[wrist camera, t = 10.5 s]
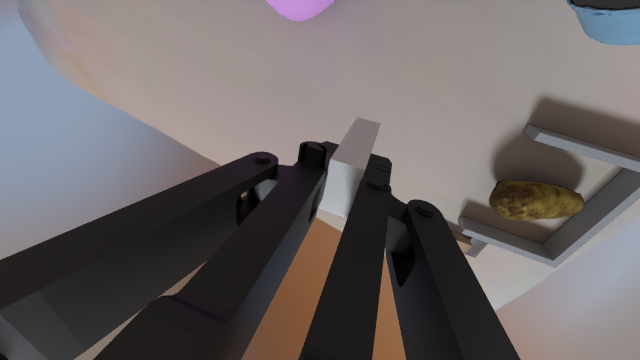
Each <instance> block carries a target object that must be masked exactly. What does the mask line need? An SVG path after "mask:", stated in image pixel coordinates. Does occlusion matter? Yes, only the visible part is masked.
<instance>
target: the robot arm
mask: <svg viewBox="0 0 640 360" xmlns="http://www.w3.org/2000/svg"><path fill="white" fill-rule="evenodd" d="M567 3H568V5H569V6H570V7H571V8H572V9H573V10H574V11H575V12H576V14H577V17H578V19H579V21H580V23H581V26H582V28H583V30H584V32H585V34H586V35H587V36H588V37H590V38H592V39H595V40H596V41H599V42H601V43H604V44H609V45H640V0H567ZM379 127H380V123H377V122H373V121H369V120H366V119H362V118H358V117H357V119H356V120H355V122H354V124H353V125H352V127H351V128H350V130H349V131H348V133H347V134H346V136H345V137H344V139H343V140H342V142H341V143H340V145H338V144H335V143H331V142H328V141H326V142H323V143H318V142H312V141H307V142H303V143H301V144H300V148H299V155H298V161H297V162H296V163H295V164H294V166H286V165H278V158H277V157H276V156H275V155H273V154H271V153H268V152H255V153H251V154H249V155H247V156H244V157H242V158H240V159H237V160H235V161H232V162H230V163H228V164H225V165H223V166H221V167H218V168H216V169H214V170H211V171H209V172H207V173H204V174H202V175H200V176H197V177H195V178H192V179H190V180H188V181H185V182H183V183H181V184H178V185H176V186H174V187H171V188H169V189H167V190H164V191H162V192H160V193H157V194H155V195H153V196H150V197H148V198H145V199H143V200H141V201H138V202H136V203H134V204H131V205H129V206H127V207H124V208H122V209H119V210H117V211H115V212H113V213H110V214H108V215H105V216H103V217H101V218H98V219H96V220H94V221H92V222H89V223H86V224H84V225H82V226H79V227H77V228H75V229H73V230H70V231H68V232H65V233H63V234H61V235H58V236H56V237H54V238H51V239H49V240H46V241H44V242H42V243H39V244H37V245H35V246H33V247H30V248H28V249H25V250H23V251H20V252H18V253H16V254H14V255H11V256H9V257H6V258H4V259H2V260H0V360H73V359H75V358H76V357H78V356H79V355H81V354H82V353H83V352H85V351H86V350H88V349H89V348H90V347H92V346H93V345H94V344H96V343H97V342H98V341H100V340H101V339H102V338H104V337H105V336H107V335H108V334H109V333H111V332H112V331H113V330H115V329H116V328H117V327H118V326H120V325H121V324H123V323H124V322H125V321H126V320H128V319H129V318H131V317H132V316H133V315H135V314H136V313H137V312H139V311H140V310H141V309H142V310H141V311H140V312H139V313H138V315H137V316H135V317H134V319H132V320H131V321H130V323H129V324H128V325H127V326H126V327H125V328H124V329H123V330H122V331H121V332H120V333H119V334H118V335H117V336H116V337H115V338H114V339H113V340H112V341H111V342H110V343H109V344H108V345H107V346H106V347H105V348H104V349H103V350H102V351H101V352H100V353H99V354H98V355H97V356H96V357H95V358H94V359H93V360H241V359H242V357H243V355H244V353H245V351H246V349H247V347H248V345H249V343H250V341H251V340H252V337H253V335H254V333H255V332H256V330H257V328H258V326H259V324H260V322H261V320H262V318H263V316H264V314H265V313H266V311H267V309H268V307H269V305H270V303H271V301H272V299H273V297H274V295H275V293H276V291H277V290H278V288H279V286H280V284H281V282H282V280H283V278H284V276H285V274H286V272H287V270H288V268H289V266H290V265H291V263H292V261H293V259H294V257H295V255H296V253H297V251H298V249H299V247H300V245H301V243H302V241H303V239H304V238H305V236H306V234H307V232H308V230H309V228H310V226H311V224H312V222H313V220H314V218H315V216H316V213H317V209H318V206H319V204H320V207H319V209H321V210H324V211H327V212H330V213H333V214H336V215H338V216H341V217H344V218H347V221H346V224H345V227H344V230H343V233H342V236H341V238H340V242H339V244H338V247H337V250H336V253H335V256H334V259H333V262H332V264H331V267H330V270H329V273H328V276H327V279H326V282H325V285H324V288H323V291H322V293H321V296H320V300H319V302H318V305H317V308H316V311H315V314H314V317H313V320H312V322H311V325H310V328H309V332H308V334H307V337H306V340H305V343H304V346H303V348H302V351H301V354H300V356H299V359H298V360H372V355H373V345H374V337H375V329H376V320H377V312H378V311H377V310H378V303H379V294H380V286H381V277H382V267H383V260H384V251H385V248H386V259H387V264H388V269H389V273H390V278H391V284H392V289H393V294H394V299H395V304H396V309H397V314H398V319H399V325H400V330H401V335H402V339H403V345H404V350H405V355H406V360H520V358H519V356H518V354H517V352H516V351H515V349H514V347H513V345H512V343H511V341H510V339H509V338H508V336H507V334H506V332H505V330H504V328H503V326H502V325H501V323H500V321H499V319H498V317H497V315H496V313H495V311H494V310H493V308H492V306H491V304H490V302H489V300H488V298H487V297H486V295H485V293H484V291H483V289H482V287H481V285H480V284H479V282H478V280H477V278H476V276H475V274H474V272H473V271H472V269H471V267H470V265H469V263H468V261H467V259H466V258H465V256H464V254H463V252H462V250H461V248H460V246H459V245H458V243H457V241H456V239H455V237H454V235H453V233H452V232H451V230H450V228H449V226H448V224H447V222H446V220H445V219H444V217H443V215H442V213H441V212H440V211H439V209H437V208H436V207H435V206H434V205H432V204H431V203H429V202H426V201H422V200H411V201H409V202H408V204H405V203H403V202H401V201H400V200H398V199H396V198H395V197H394V196H393V195H392V194H391V187H390V185H389V184H390V176H391V168H392V163H391V162H390V160H389V159H388V158H385V157H381V156H378V155H374V154H371V151H372V148H373V145H374V142H375V139H376V136H377V133H378V130H379ZM244 192H246V196H244V197H242V198H241V194H242V193H244ZM320 202H321V203H320ZM207 260H208V261H207ZM206 261H207V262H206ZM204 262H206V263H205V264H204V265H203V266H202V267H201V268H200V269H199V270H198V272H197V273H196V274H195V275H194V276H193V277H192V278H191V279H190V280H189V282H188V283H187V284H186V285H185V286H184V287H183V288H182V289H181V290H180V291H179V292H178V293H176V294H174V295H171V296H170V295H169V296H161V297H159V296H160V295H162V294H163V293H164V292H166V291H167V290H168V289H169V288H171V287H172V286H173V285H175V284H176V283H177V282H179V281H180V280H182V279H183V278H184V277H186V276H187V275H188V274H190V273H191V272H192V271H194V270H195V269H196V268H198V267H199V266H200V265H202V264H203V263H204ZM158 297H159V298H158ZM156 298H157V299H156ZM145 306H146V307H145ZM144 307H145V308H144ZM143 308H144V309H143Z"/></svg>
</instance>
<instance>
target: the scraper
mask: <svg viewBox="0 0 640 360" xmlns="http://www.w3.org/2000/svg"><path fill="white" fill-rule="evenodd" d="M451 232H452V231H451ZM452 233H453V235H454V237H455V239H456V241H457V243H458V245H459V246H460V248H461V250H462V252H463V253H464V254H466V255H469V256H471V257H474V258H475V257H476V256H477V255H478V254H479V253H480V251H481V250H482V249H483V248H484V247H485V246H486V245H487V244H488V243H486V242H484V241H481V240H478V239H475V238H473V237H470V238H468V237H465V236H462V235H460V234H457V233H454V232H452Z"/></svg>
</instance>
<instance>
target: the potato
mask: <svg viewBox="0 0 640 360" xmlns="http://www.w3.org/2000/svg"><path fill="white" fill-rule="evenodd" d="M489 205H490V207H491V208H492V210H493V211H494V212H496V213H497V214H498V215H500V216H502V217H504V218H506V219H510V220H528V221H530V220H538V219H554V218H562V217H569V216H571V215H574V214H576V213H578V212H580V211H581V210H582V209H583V207H584V199H583V198H582V196H581V194H579V193H576V192H575V191H572V190H571V189H568V188H562V187H561V186H558V185H550V184H545V183H539V182H529V181H504V180H502V181H498V182H497V184H496V186H495V188H494V189H493V191H492V193H491V195H490V198H489Z"/></svg>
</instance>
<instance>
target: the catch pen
mask: <svg viewBox="0 0 640 360" xmlns="http://www.w3.org/2000/svg"><path fill="white" fill-rule="evenodd" d="M523 132H524V133H525V134H526V135H528V136H529V137H530V138H532V139H533V140H535V141H538V142H541V143H545V144H548V145H551V146H554V147H558V148H561V149H564V150H568V151H571V152H574V153H577V154H581V155H584V156H587V157H591V158H594V159H597V160H601V161H604V162H607V163H610V164H614V165H617V166H620V167H624V169H623V170H622V171H621V172H620V173H619V174H618V175H617V176H616V177H615V178H614V179H613V180H612V181H611V182H609V183H608V184H607V185H606V186H605V187H604V188H603V189H602V190H601V191H600V192H599V193H598V194H597V195H595V196H594V197H593V198H592V199H591V200H590V201H589V202H588V203H587V204H586V205H585V206H584V207H583V209H582V210H581V211H580V212H578V213H576V214H575V215H574V216H573V217H572V218H571V219H570V220H569V221H567V222H566V223H565V224H564V225H563V226H562V227H561V228H560V229H559V230H558V231H557V232H556V233H555V234H553V235H552V236H551V237H550V238H549V239H548V240H547V241H546V242H545V243H544V244H543V245H541V244H538V243H535V242H533V241H530V240H527V239H524V238H521V237H519V236H516V235H513V234H510V233H507V232H505V231H502V230H499V229H496V228H493V227H491V226H488V225H485V224H482V223H479V222H477V221H474V220H471V219H468V218H465V217H463V216H461V217H460V218H459V219H458V223H459V226H460V229H461V233H462V234H465V235H467V236H470V237H473V238H475V239H478V240H481V241H484V242H486V243H489V244H492V245H495V246H497V247H500V248H503V249H505V250H508V251H511V252H514V253H516V254H519V255H522V256H525V257H527V258H530V259H533V260H535V261H538V262H541V263H544V264H546V265H549V266H552V267H555V268H556V267H557V266H558V265H559V264H561V263H562V262H563V261H564V260H565V259H567V258H568V257H569V256H570V255H571V254H573V253H574V252H575V251H576V250H577V249H579V248H580V247H581V246H582V245H584V244H585V243H586V242H587V241H588V240H590V239H591V238H592V237H593V236H594V235H596V234H597V233H598V232H599V231H601V230H602V229H603V228H604V227H605V226H607V225H608V224H609V223H610V222H611V221H613V220H614V219H615V218H616V217H617V216H619V215H620V214H621V213H622V212H624V211H625V210H626V209H627V208H628V207H630V206H631V205H632V204H633V203H634V202H636V201H637V200H638V199H639V198H640V158H639V157H636V156H632V155H629V154H625V153H622V152H619V151H615V150H612V149H609V148H605V147H602V146H598V145H595V144H592V143H588V142H585V141H582V140H578V139H575V138H572V137H568V136H565V135H561V134H558V133H555V132H551V131H548V130H545V129H541V128H538V127H534V126H531V125H527V126H526V128H525V129H524V131H523Z"/></svg>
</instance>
